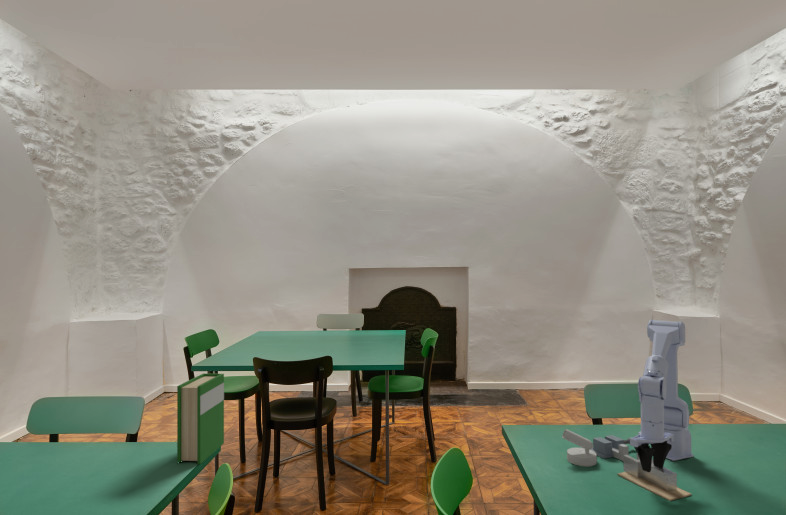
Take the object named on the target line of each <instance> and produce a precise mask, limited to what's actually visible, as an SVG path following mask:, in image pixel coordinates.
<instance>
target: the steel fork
mask: <svg viewBox="0 0 786 515" xmlns="http://www.w3.org/2000/svg"><path fill="white" fill-rule="evenodd" d="M623 472H627V473H629V474H631V475H633V476H634V477H636V478H644V479H645V480H647V481H649V482H651V483H653V484H655V485H656V486H658V487H660V488H662V489H664V490H666V491H668V492H669V491H675V490H677V487H678V484H677V483H678V480H677V479H678V477H677V475H678V474H677V472H675V471H672V470H670V469H669V468H666V467H665V466H663V468H659V467H656V466H654V464H653V458H652V464H651V471H650V472H646V471H644V470H642V466H641V462H640V459H639V456H638V453H637V452H636V457H635V458H634V457H632V456H631V455H624V461H623Z"/></svg>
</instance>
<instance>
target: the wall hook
mask: <svg viewBox="0 0 786 515" xmlns="http://www.w3.org/2000/svg"><path fill="white" fill-rule="evenodd" d="M561 436H562V437H561V438H562V439H564V440H566V441H568V442H570V443H572V444H574V445H577V446H579V447H570V448H568V449H566V460H567V461H568V462H569V463H570V464H573V465H576V466H580V467H593V466H596V465H597V462H598V461H597V460H598V459H597V454H596V453H595V452H594V451H592V450H590V449H592V448H593V441H592V440H590V439H589V438H586V437H584V436H582V435H580V434H578V433H576V432H574V431H571V430H570V429H568V428H565V429H564V431H563V432H562V435H561Z"/></svg>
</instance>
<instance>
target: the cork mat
mask: <svg viewBox="0 0 786 515" xmlns="http://www.w3.org/2000/svg"><path fill="white" fill-rule="evenodd" d="M617 476H619V477H621V478H622V479H625V480H627V481H629V482H631V483H633V484H635V485H637V486H639V487H641V488H643V489H645V490H647V491H649V492H651V493H653V494H655V495H657V496H659V497H661V498H664V499H665V500H667V501H669V502H670V501H674V500H678V499H682V498H686V497H690V496H692V493H691V492H688V491H687V490H684V489H682V488H679V487H678V486H677V490H675V491H669V492H668V491H666V490H664V489H662V488H660V487H658V486H656V485H655V484H653V483H651V482H649V481H647V480H645V479H644V478H636V477H634V476H633V475H631V474H629V473H627V472H625V471H623V472H618V473H617Z"/></svg>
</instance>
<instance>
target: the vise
mask: <svg viewBox="0 0 786 515" xmlns="http://www.w3.org/2000/svg"><path fill="white" fill-rule="evenodd" d="M630 438H631V437H628V438H627V439H623V438H620V437H618V436H615V435H613V434H609V435H605V436H604V437H601V436H599V437H593V438H592V443H593V448H592V449H590V450H592V451H594V452H595V453H596V454H597V456H598V458H599V457H600V459H601V458H602V459H610V458H615V459H617V460H619V461H622V462H624V455H629V445H630ZM627 444H629V445H627ZM629 456H630V455H629Z"/></svg>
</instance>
